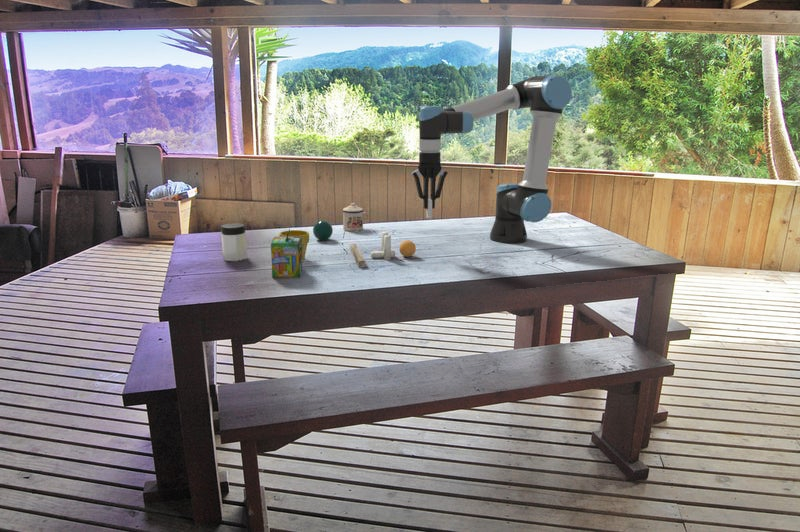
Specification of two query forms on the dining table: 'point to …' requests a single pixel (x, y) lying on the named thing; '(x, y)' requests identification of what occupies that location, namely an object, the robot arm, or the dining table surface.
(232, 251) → the jar
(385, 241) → the pin
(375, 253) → the front pin
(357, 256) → the brown wooden bar
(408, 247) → the ball
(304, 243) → the plant pot
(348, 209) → the teacup with lid
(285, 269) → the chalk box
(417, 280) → the dining table surface
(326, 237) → the sphere
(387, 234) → the pin
